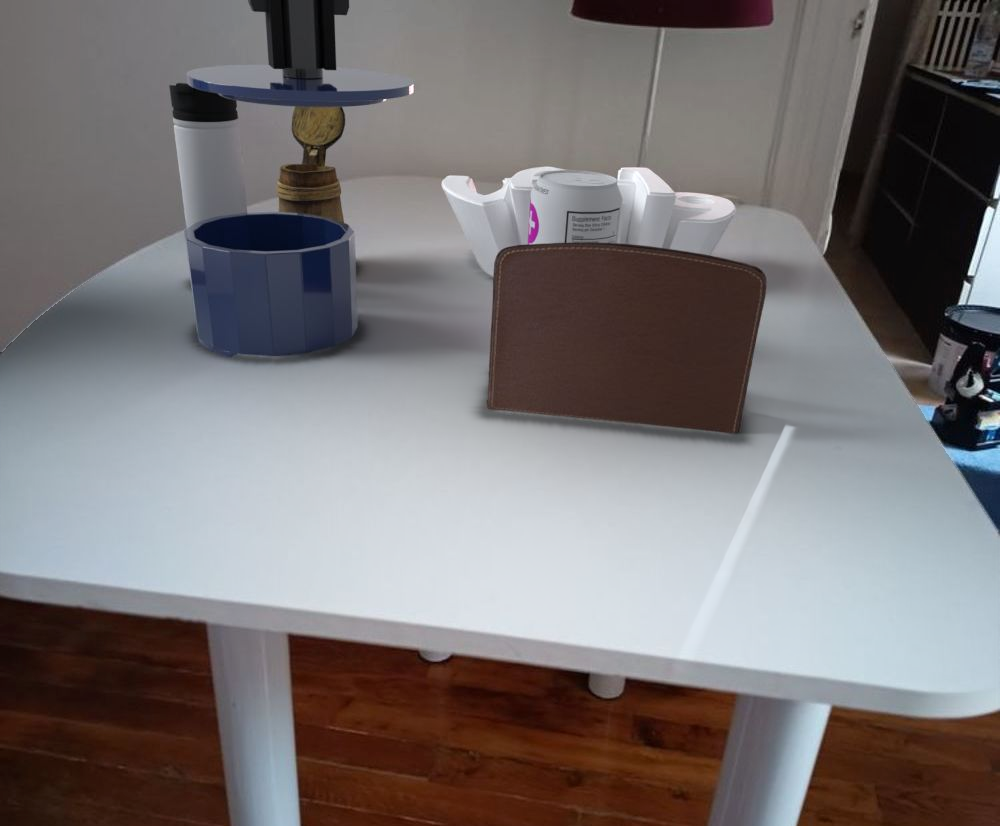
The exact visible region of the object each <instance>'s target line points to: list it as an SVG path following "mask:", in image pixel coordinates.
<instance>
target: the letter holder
mask: <svg viewBox="0 0 1000 826" xmlns="http://www.w3.org/2000/svg"><path fill="white" fill-rule="evenodd" d="M767 282H768V281H767V277H766V274H765V272H764V271H763V270H762V269H761V268H759V267H758V266H756V265H752V264H749V263H745V262H743V261H742V262H741V261H737V260H734V259H733V260H732V259H730V258H729V259H728V258H725V257H720V256H714V255H711V256H710V255H705V254H699V253H693V252H687V251H680V250H673V249H666V248H658V247H651V246H642V245H632V244H619V243H591V242H586V243H548V244H528V245H516V246H510V247H506V248H504V249H502V250H501V251H500V252H499V253H498V254H497V256H496V259H495V262H494V275H493V277H492V304H491V305H492V307H491V321H490V323H491V325H490V341H489V361H488V383H487V384H488V385H487V386H488V387H487V400H486V407H487V409H488V410H493V411H503V412H515V413H523V414H524V413H525V414H533V415H545V416H555V417H564V418H574V419H575V418H576V419H586V420H596V421H603V422H604V421H605V422H615V423H616V422H617V423H626V424H636V425H645V426H646V425H647V426H656V427H665V428H666V427H667V428H674V429H675V428H676V429H686V430H695V431H696V430H697V431H704V432H705V431H707V432H715V433H725V434H733V435H737V434H739V432H740V429H741V423H742V418H743V413H744V408H745V402H746V397H747V393H748V386H749V382H750V375H751V370H752V367H753V360H754V353H755V349H756V348H755V347H756V344H757V339H758V333H759V329H760V325H761V319H762V315H763V310H764V305H765V300H766V295H767V289H768V288H767V286H768V285H767V284H768V283H767Z"/></svg>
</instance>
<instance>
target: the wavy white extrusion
mask: <svg viewBox="0 0 1000 826" xmlns="http://www.w3.org/2000/svg"><path fill="white" fill-rule="evenodd" d="M557 170H565V169H564V168H559V167H554V166H539V167H538V166H537V167H531V168H526V169H523V170H520V171H517V172H516V173H515V174H514V175H512V177H505V178H504V179H502V180H501V181H502V187H501V188H500V189H498V190H496V191H494V192H492V193H491V192H490V193H488V194H485V195H484V194H481V193H479V192H478V191H477V188H476V186H475V183H474V181H473V178H470V176H469V175H450V174H449V175H447V176H445V178H444V179H443V180H442V181H441V183H440V184H441V188H442V190H443V192H444V194H445V196H446V198H447V200H448V203H449V205H450V207H451V209H452V211H453V213H454V215H455V217H456V220H457V222H458V223H459V225H460V228H461V230H462V232H463V234H464V236H465V238H466V240H467V243H468V245H469V247H470V249H471V252H472V254H473V255H474V258H475V259H476V262H477V264H478V265H479V267H480V268H481V270H482V271H484V273H486V274H487V275H489V276H490V277H492V278H493V275H494V262H495V259H496V256H497V254H498V253H499V252H500V251H501V250H502V249H504V248H506V247H510V246H516V245H528V229H529V212H530V195H531V191H532V189H533V187H534V186H535V184H536V182H537V180H538V179H539V175H540V174H541V173H543V172H548V171H557ZM616 179H617V185H618V188H619V191H620V193H621V196H622V199H623V200H622V209H621V218H620V228H619V237H618V243H619V244H632V245H642V246H651V247H658V248H666V249H673V250H680V251H687V252H693V253H699V254H705V255H710V256H712V254H713V252H714V250H715V249H716V247H717V245H719V242H720V240H721V239H722V237H723V235H724V234H725V232H726V230H727V228H728V227H729V226H730V223H731V222H732V219H733V218H734V216H735V215H736V213H737V207H736V205H735V204H734V203H733V201H731V200H730V199H727V198H726V197H721V196H718V195H714V194H708V193H701V192H700V193H699V192H685V191H684V192H683V191H681V192H680V191H679V192H678V191H674V190H673V189H672V188H671V186H670V185H669V184H668V183H667V182H665V180H663V178H661V177H660V176H659V175H658V174H656V173H655V172H654V171H653V170H652V169H650V168H648V167H637V166H636V167H631V166H629V167H621V168H620V169H618V171H617V178H616Z"/></svg>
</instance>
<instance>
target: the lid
mask: <svg viewBox="0 0 1000 826" xmlns="http://www.w3.org/2000/svg"><path fill="white" fill-rule="evenodd" d="M281 10H282V27H283V43H284V60H285V69H273V68H272V67H271V66H270V65H269V63H268V64H263V63H262V64H261V63H260V64H256V63H255V64H229V65H226V64H225V65H215V66H204V67H198V68H194V69H191V70H188V71H187V72H186V74H185V76H186V83H187V84H188V85H189V86H191V87H193V88H196V89H199V90H203V91H207V92H212V93H217V94H219V95H220V96H222V97H225V98H228V99H232V100H236V101H238V102H241V103H242V102H243V103H250V104H258V105H268V106H278V107H279V106H280V107H294V108H295V107H342V108H348V107H350V108H351V107H361V106H372V105H376V104H381V103H384V102H386V101H387V100H390V99H391V100H392V99H398V98H403V97H408V96H411V95H412V94H414V93H415V91H416V90H415V86H416V85H415V84H416V83H415V80H413V79H412V78H410V77H407V76H404V75H400V74H395V73H390V72H384V71H378V70H369V69H361V68H351V67H341V66H340V67H339V66H336V70H325V69H323V61H322V37H321V12H320V0H281Z"/></svg>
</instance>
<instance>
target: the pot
mask: <svg viewBox="0 0 1000 826" xmlns="http://www.w3.org/2000/svg"><path fill="white" fill-rule="evenodd" d="M183 233H184V240H185V241H184V242H185V250H186V255H187V256H186V257H187V264H188V272H189V279H190V288H191V296H192V304H193V312H194V317H195V318H194V320H195V328H196V332H197V337H198V338H197V339H198V341H199V343H200V344H201V345H202V346H203V347H204V348H205V349H207V350H209V351H211V352H213V353H215V354H217V355H221V356H224V357H228V358H232V357H235V356H237V355H248V356H266V357H278V356H290V355H302V354H309V353H313V352H318V351H321V350H325V349H331V348H334V347H336V346H338V345H340V344H342V343H343V342H346V341H347V340H349V339H351V338H353V336H354V335H355V333H356V331H357V329H358V327H359V324H358V323H359V322H358V321H359V320H358V296H357V295H358V292H357V290H358V289H357V263H356V261H357V260H356V259H357V258H356V234H355V233H356V232H355V231H354V230H353V228H352V227H351V226H350V225H349V224H348V223H346V222H344V223H343V222H340V221H338V220H335V219H332V218H329V217H323V216H317V215H311V214H304V213H286V212H279V211H260V212H259V211H258V212H247V213H240V214H233V215H225V216H218V217H214V218H210V219H207V220H203V221H200V222H196V223H194V224H193V225H192V226H190V227H189V228H188V229H187V228H185V230H184V231H183Z"/></svg>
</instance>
